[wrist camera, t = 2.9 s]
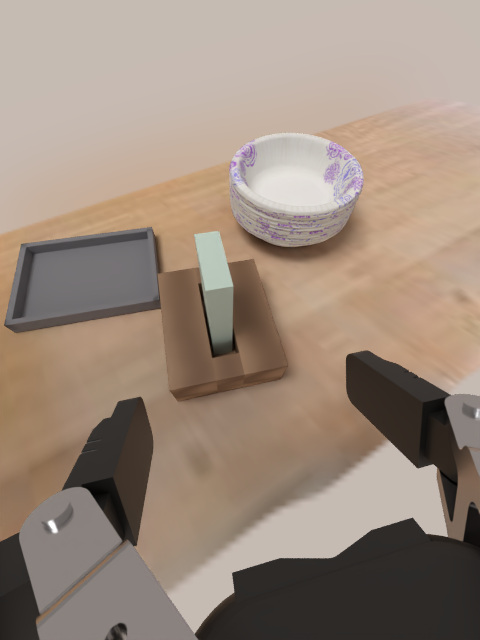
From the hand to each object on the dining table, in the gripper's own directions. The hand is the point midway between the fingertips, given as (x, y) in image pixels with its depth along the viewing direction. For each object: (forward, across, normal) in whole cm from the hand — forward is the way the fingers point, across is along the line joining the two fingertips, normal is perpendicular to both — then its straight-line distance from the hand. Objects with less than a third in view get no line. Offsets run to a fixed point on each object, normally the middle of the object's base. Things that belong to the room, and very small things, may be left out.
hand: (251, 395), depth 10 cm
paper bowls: (+29, -12, -7) cm, 32 cm away
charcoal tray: (+25, +13, -3) cm, 29 cm away
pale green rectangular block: (+18, 0, +3) cm, 18 cm away
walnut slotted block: (+18, 0, +4) cm, 18 cm away
